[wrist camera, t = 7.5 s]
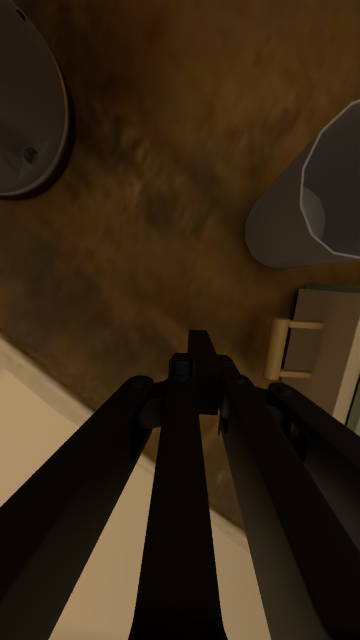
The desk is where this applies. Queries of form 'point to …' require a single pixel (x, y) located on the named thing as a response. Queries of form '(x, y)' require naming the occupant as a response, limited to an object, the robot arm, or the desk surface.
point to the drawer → (319, 349)
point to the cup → (313, 202)
